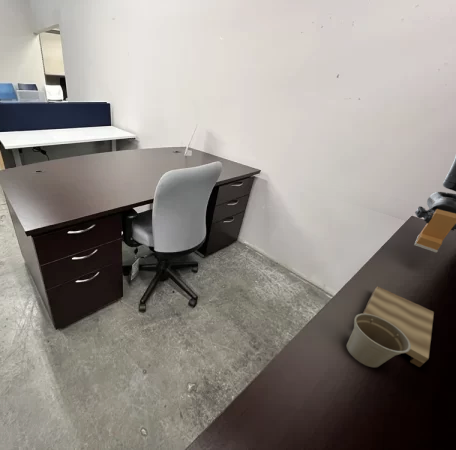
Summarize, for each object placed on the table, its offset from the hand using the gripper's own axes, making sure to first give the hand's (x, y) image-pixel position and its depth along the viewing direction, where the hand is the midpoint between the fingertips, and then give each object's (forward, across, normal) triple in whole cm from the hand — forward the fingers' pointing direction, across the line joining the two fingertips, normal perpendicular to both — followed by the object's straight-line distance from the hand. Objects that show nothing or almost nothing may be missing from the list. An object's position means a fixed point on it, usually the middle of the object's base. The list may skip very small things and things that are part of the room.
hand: (441, 223), depth 78 cm
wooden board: (+40, +1, +18) cm, 44 cm away
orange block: (-1, 0, +8) cm, 8 cm away
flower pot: (+57, -2, +18) cm, 60 cm away
